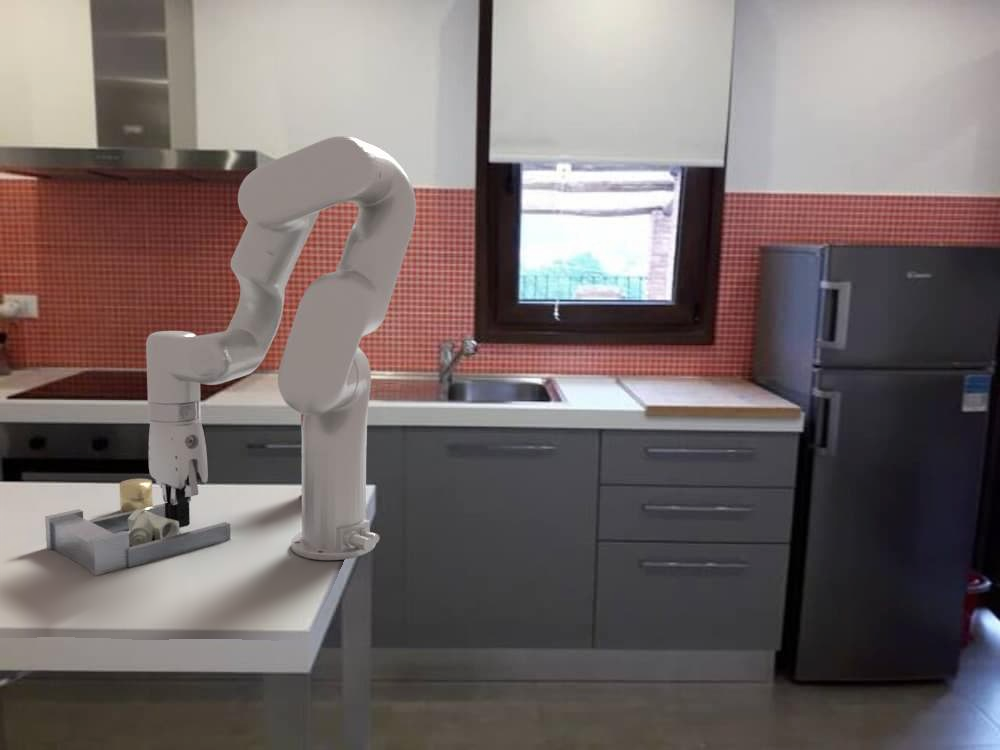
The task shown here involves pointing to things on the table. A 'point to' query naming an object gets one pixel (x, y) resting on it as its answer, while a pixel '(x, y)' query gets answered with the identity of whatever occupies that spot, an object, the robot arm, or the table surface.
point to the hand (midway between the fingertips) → (177, 526)
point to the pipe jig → (120, 540)
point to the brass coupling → (135, 494)
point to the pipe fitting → (150, 527)
